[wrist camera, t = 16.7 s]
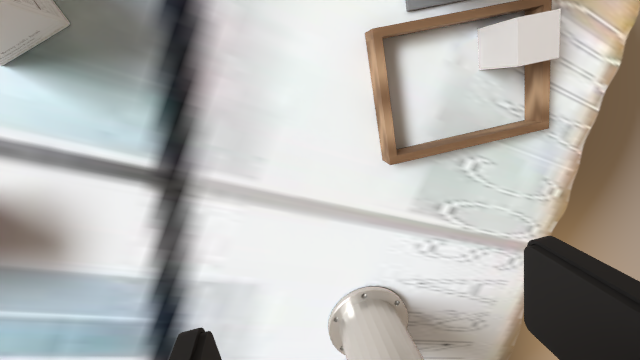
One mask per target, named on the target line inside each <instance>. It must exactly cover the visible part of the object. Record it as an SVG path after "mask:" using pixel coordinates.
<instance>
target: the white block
mask: <svg viewBox="0 0 640 360" xmlns="http://www.w3.org/2000/svg"><path fill="white" fill-rule="evenodd" d="M560 13H561V9H557V10H552V11H547V12H542V13H537V14H532V15H527V16H522V17H517V18H513V19H510V20H507V21H503V22H500V23H496V24H493V25H489V26H486V27H482V28H479V29H477V37H478V60H479V70H485V69H496V68H507V67H518V66H523V65H528V64H532V63H537V62H542V61H546V60H551V59H556V58H559V49H560Z"/></svg>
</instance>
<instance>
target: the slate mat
mask: <svg viewBox="0 0 640 360" xmlns="http://www.w3.org/2000/svg"><path fill="white" fill-rule="evenodd" d="M459 1H464V0H406V9H407V11H412V10H417V9H422V8H427V7H433V6H438V5H443V4H448V3H454V2H459Z"/></svg>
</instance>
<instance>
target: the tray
mask: <svg viewBox="0 0 640 360" xmlns="http://www.w3.org/2000/svg"><path fill="white" fill-rule="evenodd" d="M551 3H552V0H519V1H514V2H509V3H503V4H498V5H493V6H488V7H483V8H478V9H472V10H467V11H462V12H457V13H452V14H447V15H441V16H436V17H431V18H426V19H421V20H416V21H410V22H405V23H400V24H395V25H390V26H384V27H379V28H374V29H371V30H370V31H368V32H366V33H365V37H366V45H367V52H368V59H369V66H370V73H371V80H372V88H373V95H374V102H375V109H376V116H377V124H378V131H379V138H380V145H381V152H382V159H383V161H385V162H387V163H388V164H390V165H393V164H397V163H401V162H406V161H410V160H414V159H419V158H423V157H427V156H431V155H436V154H440V153H444V152H449V151H453V150H457V149H462V148H466V147H470V146H475V145H479V144H483V143H487V142H492V141H496V140H500V139H505V138H509V137H513V136H518V135H522V134H526V133H530V132H535V131H539V130H543V129H548V128H549V97H550V60H546V61H542V62H537V63H532V64H528V65H525V120H523V121H519V122H515V123H510V124H506V125H502V126H497V127H493V128H488V129H484V130H480V131H475V132H471V133H466V134H462V135H458V136H453V137H449V138H445V139H440V140H436V141H431V142H427V143H423V144H418V145H414V146H410V147H405V148H401V149H396V143H395V135H394V127H393V119H392V111H391V103H390V95H389V87H388V79H387V71H386V63H385V55H384V47H383V39H384V38H389V37H395V36H400V35H405V34H410V33H415V32H420V31H425V30H430V29H435V28H440V27H445V26H450V25H456V24H461V23H466V22H471V21H476V20H481V19H486V18H491V17H496V16H501V15H506V14H511V13H517V12H522V11H525V16H527V15H532V14H537V13H542V12H547V11H551Z"/></svg>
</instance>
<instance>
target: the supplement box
mask: <svg viewBox="0 0 640 360" xmlns="http://www.w3.org/2000/svg"><path fill="white" fill-rule="evenodd" d="M69 25H70V22H69V21H68V20H67V18H66V17H65V16H64V14H63V13H62V12H61V10H60V9H59V8H58V6H57V5H56V4H55V2H54V1H53V0H0V66H3V65H5V64H6V63H8V62H10V61H12V60H13V59H15V58H17V57H18V56H20V55H21V54H23V53H25V52H27V51H28V50H30V49H32V48H33V47H35V46H36V45H38V44H40V43H41V42H43V41H45V40H46V39H48V38H50V37H51V36H53V35H55V34H56V33H58V32H60V31H61V30H63V29H64V28H66V27H68V26H69Z"/></svg>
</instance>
